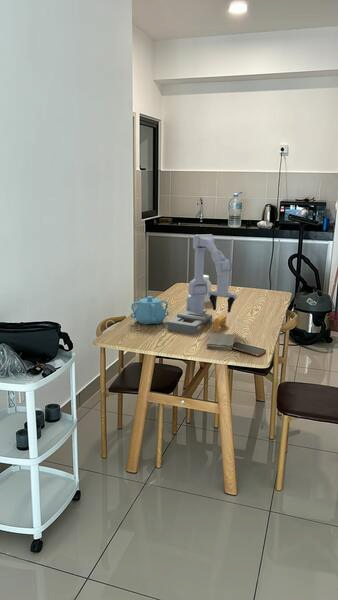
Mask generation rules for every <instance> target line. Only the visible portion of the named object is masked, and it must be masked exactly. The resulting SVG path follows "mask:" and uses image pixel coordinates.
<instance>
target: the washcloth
mask: <svg viewBox="0 0 338 600" xmlns="http://www.w3.org/2000/svg"><path fill="white" fill-rule="evenodd" d="M235 341H236V334H233V333H232V334H231V333H226V334H225V333H223V334H222V333H216V332H215V333H214V332H212V333H210V335H209V337H208V339H207V342H206V349H211V350H217V351H218V350H220V351H228V352H229V351H232V350H233V349H232V346H233V344H234V345H235ZM233 347H234V346H233Z"/></svg>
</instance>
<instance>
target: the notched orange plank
mask: <svg viewBox="0 0 338 600" xmlns="http://www.w3.org/2000/svg"><path fill="white" fill-rule="evenodd" d="M226 325H227V315H222V314H221V315H219V316H218V317H216V318H215V319H212V323H211V332H219V330H220V326H222V327H225V326H226Z"/></svg>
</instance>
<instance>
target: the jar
mask: <svg viewBox="0 0 338 600" xmlns="http://www.w3.org/2000/svg"><path fill="white" fill-rule="evenodd" d="M203 279H204V280H205V281H206V282H207V286H208V292H209V291H212V282H211V281H210V275H208V274H204V276H203ZM209 297H210V296H208V293H207V294H206V296H205V297H204V303H209V302H211V301H210V299H209Z"/></svg>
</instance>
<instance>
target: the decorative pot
mask: <svg viewBox="0 0 338 600" xmlns="http://www.w3.org/2000/svg"><path fill="white" fill-rule="evenodd" d="M163 303H165V307H164V306H163ZM135 305H136V306H135ZM134 306H135V309H134ZM168 306H169V303H168V301H167V300H165V299H164V300H163V299H161V300H160V299H159V298H155V297H154V296H152V295H147V296H146V297H145V298H141V299H140V298H139V299H138V301H134V302H132V304H131V306H130V307H131V310H132V313H131V314H130V317H131V319H135V320H136V321H137V322H138V324H139V323H140V324H142V326H143V325H144V326H148V325H149V324H151V325H153V324H154V325H160V324H161V323H162V322H164V320H165V319H166V317H168V316H169V314H170V313H169V311H167V310H168Z"/></svg>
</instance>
